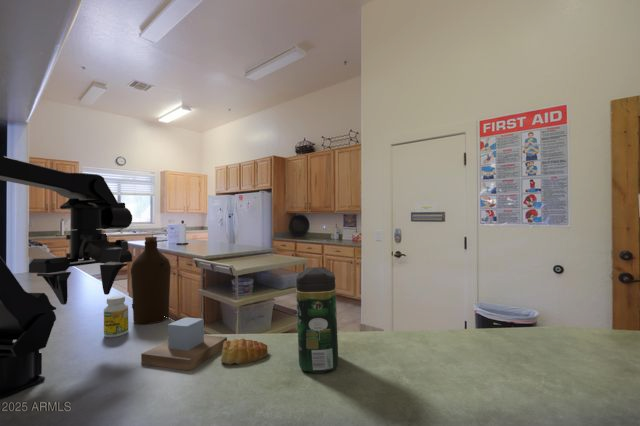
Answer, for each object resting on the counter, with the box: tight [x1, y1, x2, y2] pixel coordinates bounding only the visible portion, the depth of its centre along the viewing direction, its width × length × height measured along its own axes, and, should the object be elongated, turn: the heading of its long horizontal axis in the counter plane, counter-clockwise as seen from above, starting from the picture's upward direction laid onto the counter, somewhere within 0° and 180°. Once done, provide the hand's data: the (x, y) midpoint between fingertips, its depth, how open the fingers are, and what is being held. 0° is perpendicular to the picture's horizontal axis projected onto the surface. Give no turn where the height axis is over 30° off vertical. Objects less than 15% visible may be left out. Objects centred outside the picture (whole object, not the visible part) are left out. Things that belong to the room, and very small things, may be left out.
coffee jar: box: [295, 266, 339, 374], centre depth 60 cm, size 10×8×19 cm
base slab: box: [140, 334, 228, 372], centre depth 65 cm, size 12×12×2 cm
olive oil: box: [130, 236, 172, 325], centre depth 92 cm, size 11×11×25 cm
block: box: [167, 316, 205, 351], centre depth 65 cm, size 5×5×5 cm
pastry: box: [220, 338, 269, 365], centre depth 63 cm, size 9×7×4 cm
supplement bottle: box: [103, 295, 129, 338], centre depth 80 cm, size 5×5×10 cm
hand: (86, 299), depth 68 cm, fingers open, 9 cm apart
